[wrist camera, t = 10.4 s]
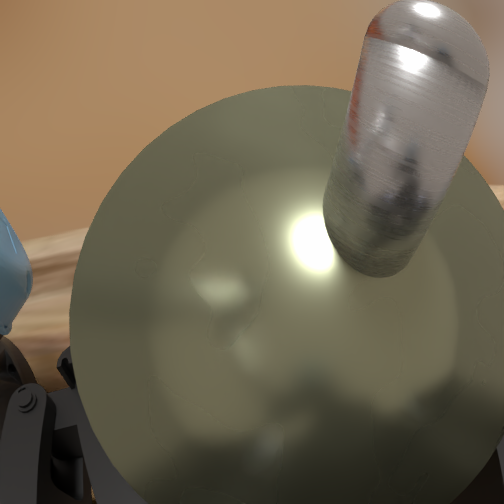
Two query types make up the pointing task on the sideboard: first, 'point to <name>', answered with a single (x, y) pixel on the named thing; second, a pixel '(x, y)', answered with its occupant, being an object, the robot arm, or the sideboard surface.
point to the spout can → (305, 288)
